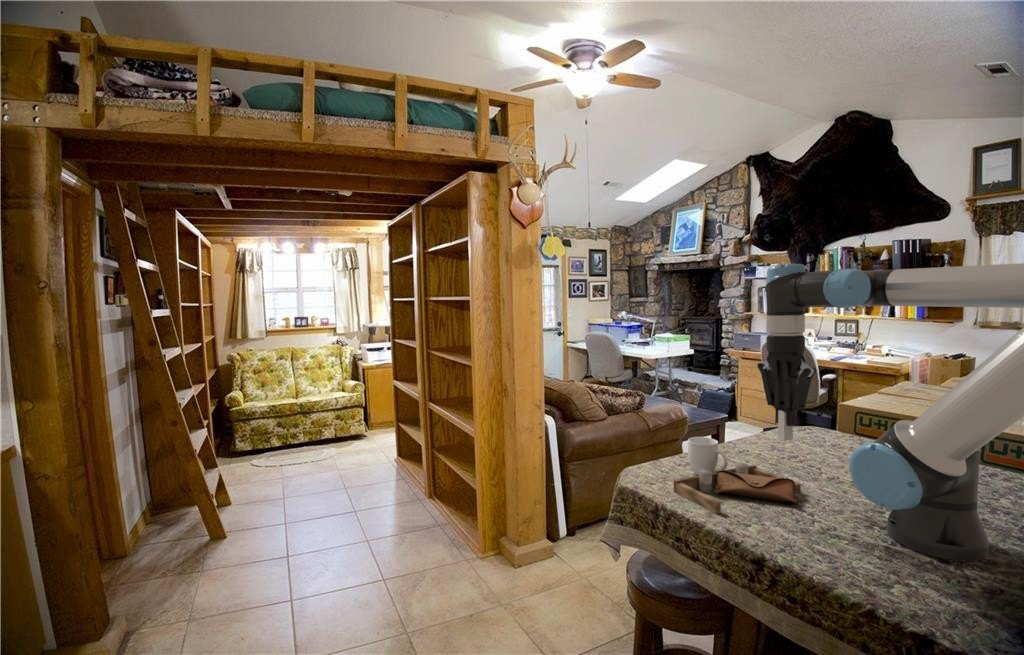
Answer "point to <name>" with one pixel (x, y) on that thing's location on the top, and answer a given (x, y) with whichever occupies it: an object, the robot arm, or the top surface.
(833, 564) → the top surface
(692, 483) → the rail board
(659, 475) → the top surface
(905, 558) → the top surface
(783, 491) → the sunglasses case
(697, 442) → the mug
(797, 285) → the robot arm
